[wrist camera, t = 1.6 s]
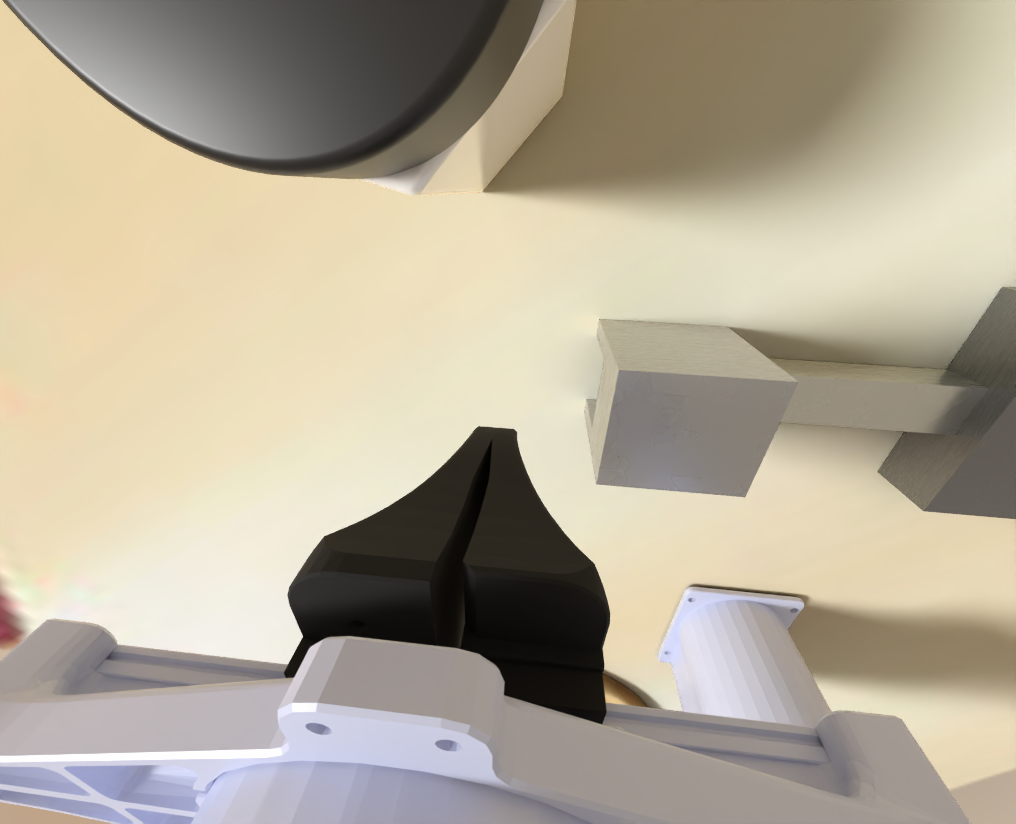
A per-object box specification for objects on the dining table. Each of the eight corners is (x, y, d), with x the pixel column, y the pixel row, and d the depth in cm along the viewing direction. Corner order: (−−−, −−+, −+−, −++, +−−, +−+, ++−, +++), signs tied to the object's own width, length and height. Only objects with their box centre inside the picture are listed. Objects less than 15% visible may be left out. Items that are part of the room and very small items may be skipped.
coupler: (973, 479, 21) (1034, 520, 18) (720, 459, 22) (743, 495, 19) (1132, 293, 16) (1245, 314, 13) (792, 276, 17) (837, 292, 14)
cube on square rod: (695, 420, 21) (745, 497, 15) (584, 411, 21) (596, 484, 16) (727, 326, 18) (798, 382, 13) (599, 319, 18) (618, 369, 13)
